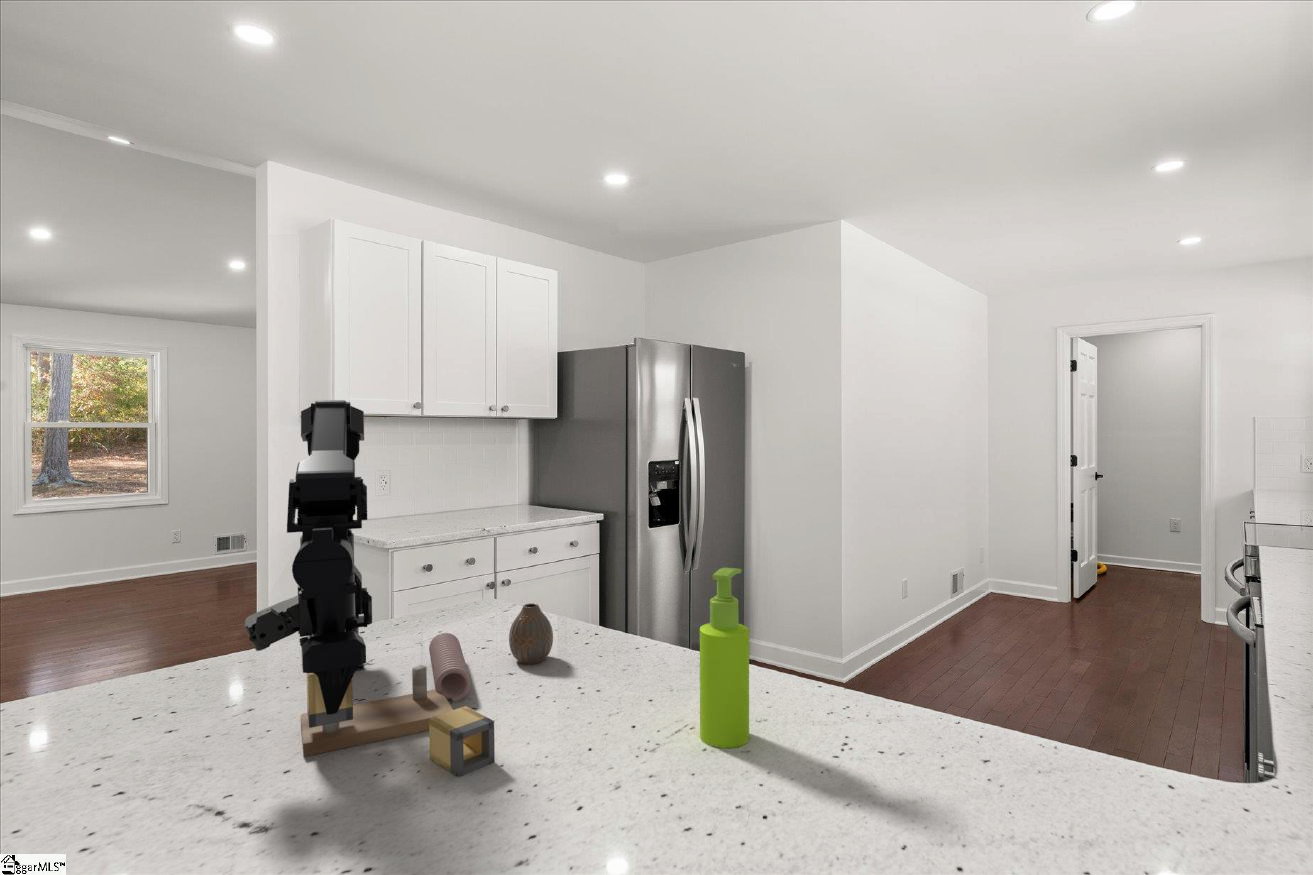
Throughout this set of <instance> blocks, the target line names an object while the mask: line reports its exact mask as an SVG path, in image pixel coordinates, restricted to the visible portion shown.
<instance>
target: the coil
mask: <svg viewBox="0 0 1313 875" xmlns="http://www.w3.org/2000/svg"><path fill="white" fill-rule="evenodd" d="M428 651H429V657H430V662H431V664H430V665H431V669H432V670H431V671H432V676H433V683H434V690H436V691H442V693H443V694H444V696H445V698H446V699H447V701H451V703H458V702H460V701H461V700H463V699H464V698H465V697H466V696H467V695H468V693H469V691H470V689H471V685H472V684H471V682H472V680H471V677H470V674H469V670H468V666H467V663H466V659H465V657H464V654H463V649H462V647H461V643H460V640H459V639H458V637H457V636H456V635H455V634H452V633H450V632H443V633H442V632H441V633H439V634H436V635H435V636H434V637H433V638H432V639H431V641H430V643H429V647H428Z"/></svg>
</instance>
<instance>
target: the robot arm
mask: <svg viewBox="0 0 1313 875" xmlns="http://www.w3.org/2000/svg"><path fill="white" fill-rule="evenodd" d="M300 438H301V439H302V442H306V443H307V444H306V445H307V454H308V456H307V457H305V458H304V459H302V460H300V461H298V463H297V466H296V472H295V478H292V479H291V478H290V479H289V482H288V496H287V497H288V500H287V518H286V519H287V520H286V533H287V534H290V533H291V534H292V533H302V534H301V536H300V540H299V541H300V542H299V544H300V546H299V548H298V551H297V553H296V554H295V557H294V560H293V561H292V566H291V568H292V569H291V573H292V577H293V579H294V581H295V583H296V585H297V595H295V596H294V597H291V598H288V599H285V600H282V601H279V602H278V603H276V604H273V605H270V606H268V607H266V608H264V609H262V610H259V611H257V612H255V613H253V614H251V615H249V616H247V617H246V618H245V620H244V629H245V630H246V633H247V635H248V639H249V641H250V642H251V643H252V645H253V647H254V649H255V651H257V652H260V651H262V650H266V649H268V648H270V646H271V645H272V644H274V643H277V642H278V641H281V640H282V639H285V638H287V637H289V636H291V635H294V634H295V633H298V635H299V639H298V640H299V645H300V647H301V668H302V673H303V674H307V673H314V674H316V675H317V676H318V680H319V684H320V688H321V692H322V696H323V700H324V704H325V709H326V713H327V714H328V715H330V714H335V713H337V712H338V710H339V707H340V705H341V703H342V700H343V698H344V696H345V693H346V691H347V689H348V686H349V684H350V682H351V679H352V680H353V677H354V675H355V673H356V670H358V669H363V668H364V667H365V665H364V664H366V663H367V645H366V643H365V641H364V638H363V637H362V635H360V634H359V628H367V627H368V625H372V624H373V596H372V595H371V594H369V591H368V587H363V576H362V573H361V571H359V569H358V568H357V566H356V565H355V536H354V535H355V534H354V533H353V530H354V529H355V530H358V529H362V528H363V521H368V486H367V485H366V484H365V483H364V478H362V476H356V463H355V461H356V459H357V458H358V455H359V454H360V448H361V447H360V441H361V442H362V441H365V412H364V410H362V409H359V408H357V407H355V406H353V405H352V404H351V401H347V400H344V399H341V400H339V399H316V400H315V401H311V402H310V406H309V407H307V408H305V409H303V410H301V411H300ZM296 512H297V514H296ZM296 515H297V517H296ZM355 515H356V519H354V516H355Z"/></svg>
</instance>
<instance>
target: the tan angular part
mask: <svg viewBox="0 0 1313 875" xmlns="http://www.w3.org/2000/svg"><path fill="white" fill-rule="evenodd" d="M428 733H429V759H430V760H431V761H433V762H434V763H436V764H437V765H438V766H441V767H442V768H443V769H445V770H447V771H448V772H450V773H451V774H453V775H454V776H455V777H457V778H459V777H461V776H464V775H467V774H468V773H471V772H474V771H475V770H479V769H480V768H483V767H485V766H488V765H490V764H493V763H495V760H496V759H495V758H496V757H495V756H496V755H495V754H496V753H495V752H496V751H495V748H496V746H495V720H493V719H491V718H489V717H487V716H485V715H484V714H481V713H480V712H478V711H476V710H473V709H472V708H470V707H468V706H466V705H464V706H461V707H459V708H456V709H453V710H452V711H449V712H446V713H443V714H440V715H438V716H435V717H432V718H429V730H428Z"/></svg>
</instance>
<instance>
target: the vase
mask: <svg viewBox="0 0 1313 875" xmlns="http://www.w3.org/2000/svg"><path fill="white" fill-rule="evenodd" d="M551 624H552V623H551V622H550V620H549V619H548V617H547V616H546V614H544V612H543V611H542V609H541V608H540V606H539V604H538V603H526V604H523V606H522V608H521V611H520V612H519V613H518V615H517V616H516V617H515V619H514V620H513V622H512V624H511V627H510V628H509V634H508V643H509V649H510V652H511V655H512V656H513V657H514V658H515V660H516V661H518V662H519V663H520V664H523V665H533V664H539V663H542V662H543V661H545V660H546V658H547V657H548V656H549V654H550V653H551V652H552V651H551V650H552V648H553V644H554V633H553V632H554V631H553V626H552V625H551Z"/></svg>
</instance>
